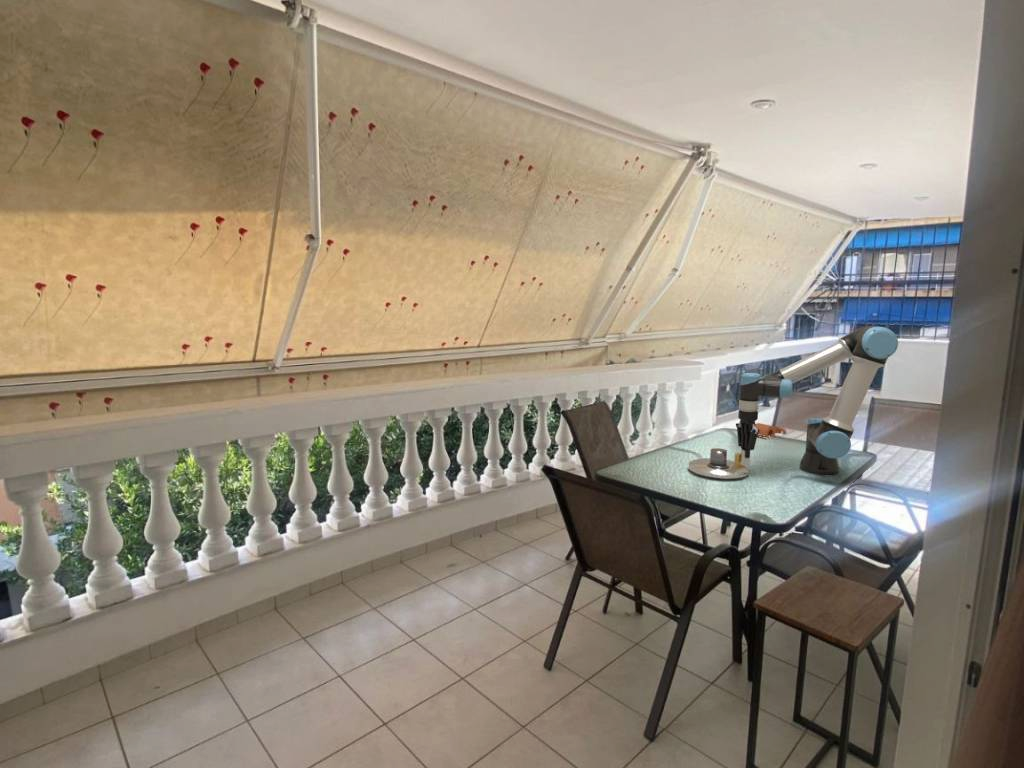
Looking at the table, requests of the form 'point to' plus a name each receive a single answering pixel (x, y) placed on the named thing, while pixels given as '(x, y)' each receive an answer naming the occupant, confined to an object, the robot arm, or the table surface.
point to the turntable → (730, 472)
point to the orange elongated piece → (768, 430)
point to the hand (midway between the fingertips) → (745, 464)
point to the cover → (718, 458)
